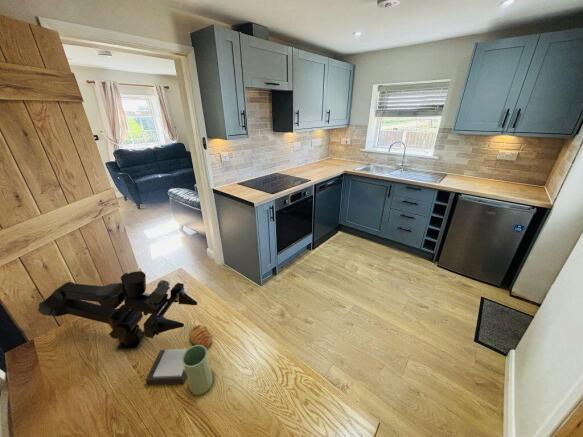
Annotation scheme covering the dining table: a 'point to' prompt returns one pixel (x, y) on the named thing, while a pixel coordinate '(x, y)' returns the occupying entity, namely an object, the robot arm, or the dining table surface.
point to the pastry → (200, 336)
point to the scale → (167, 368)
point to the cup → (197, 369)
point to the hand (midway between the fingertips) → (190, 313)
